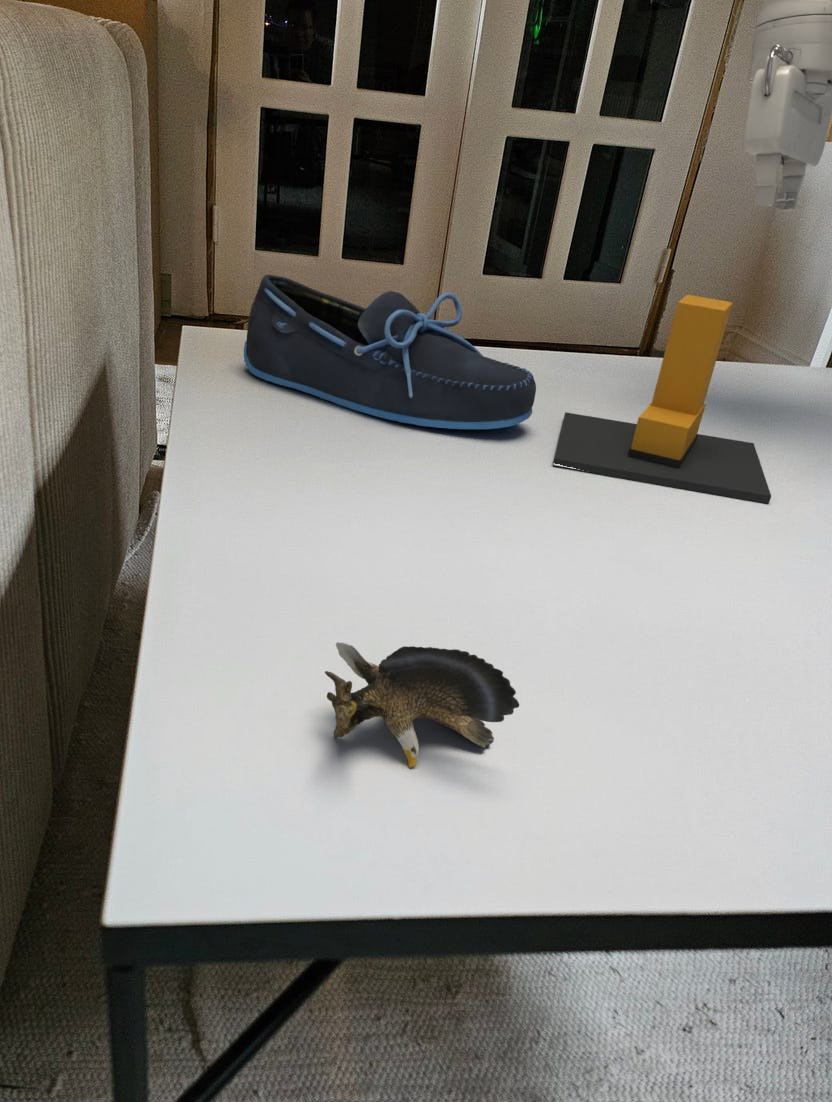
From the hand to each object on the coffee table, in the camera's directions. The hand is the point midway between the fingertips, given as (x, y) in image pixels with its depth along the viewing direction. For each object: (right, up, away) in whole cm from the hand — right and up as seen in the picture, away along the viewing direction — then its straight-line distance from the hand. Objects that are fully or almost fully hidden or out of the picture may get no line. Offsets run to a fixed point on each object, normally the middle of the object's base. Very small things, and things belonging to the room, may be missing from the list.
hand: (775, 208), depth 101 cm
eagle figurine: (-42, -52, -50) cm, 84 cm away
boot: (-14, -27, -5) cm, 31 cm away
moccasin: (-42, -20, +3) cm, 47 cm away
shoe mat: (-15, -28, -6) cm, 32 cm away
